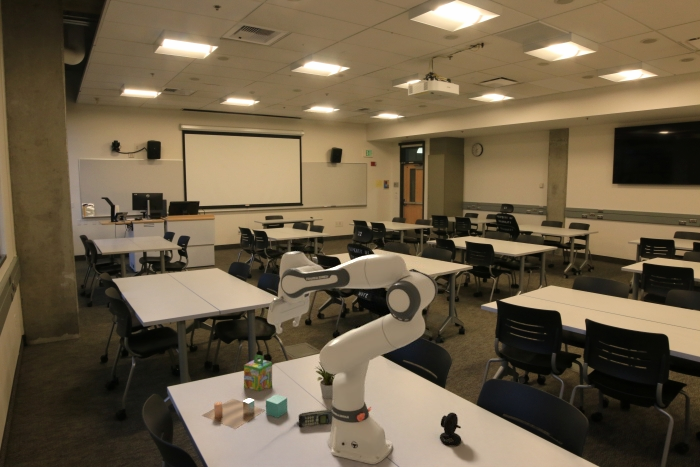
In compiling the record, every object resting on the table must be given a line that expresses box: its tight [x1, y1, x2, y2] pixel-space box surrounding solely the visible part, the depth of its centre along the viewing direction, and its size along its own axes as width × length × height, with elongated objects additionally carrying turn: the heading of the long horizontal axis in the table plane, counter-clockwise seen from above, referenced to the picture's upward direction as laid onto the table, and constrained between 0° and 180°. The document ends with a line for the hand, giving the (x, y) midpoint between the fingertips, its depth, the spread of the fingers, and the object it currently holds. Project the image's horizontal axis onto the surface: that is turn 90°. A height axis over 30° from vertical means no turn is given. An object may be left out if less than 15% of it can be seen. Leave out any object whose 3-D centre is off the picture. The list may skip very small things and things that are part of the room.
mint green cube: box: [265, 393, 288, 419], centre depth 174 cm, size 6×6×7 cm
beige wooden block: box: [242, 397, 255, 415], centre depth 173 cm, size 3×3×5 cm
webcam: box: [439, 412, 462, 447], centre depth 157 cm, size 8×8×10 cm
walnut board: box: [201, 398, 266, 430], centre depth 174 cm, size 18×16×2 cm
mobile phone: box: [298, 409, 332, 428], centre depth 169 cm, size 5×3×15 cm
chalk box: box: [243, 354, 273, 392], centre depth 197 cm, size 9×9×15 cm
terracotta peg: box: [213, 401, 223, 418], centre depth 171 cm, size 3×3×5 cm
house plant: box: [314, 361, 336, 400], centre depth 188 cm, size 14×14×16 cm
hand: (287, 329), depth 167 cm, fingers open, 8 cm apart
